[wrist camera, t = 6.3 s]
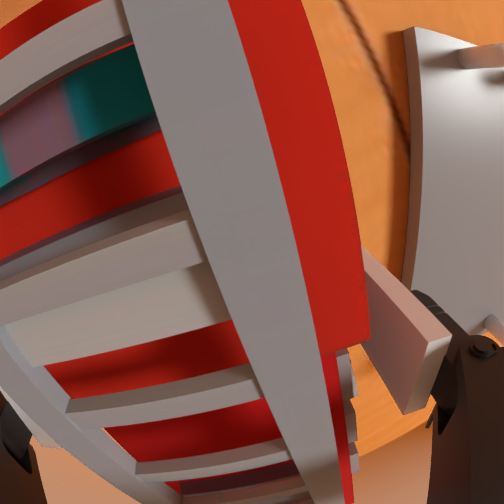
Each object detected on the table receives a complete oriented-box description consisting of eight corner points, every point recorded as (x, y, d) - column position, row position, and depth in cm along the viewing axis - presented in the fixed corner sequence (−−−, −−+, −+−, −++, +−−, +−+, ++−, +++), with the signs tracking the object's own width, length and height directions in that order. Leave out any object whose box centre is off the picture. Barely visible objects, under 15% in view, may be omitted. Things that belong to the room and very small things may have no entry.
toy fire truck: (254, 18, 10) (357, -169, 1) (340, 382, 17) (405, 529, 8) (41, 99, 10) (-171, 120, 1) (196, 422, 17) (201, 575, 8)
